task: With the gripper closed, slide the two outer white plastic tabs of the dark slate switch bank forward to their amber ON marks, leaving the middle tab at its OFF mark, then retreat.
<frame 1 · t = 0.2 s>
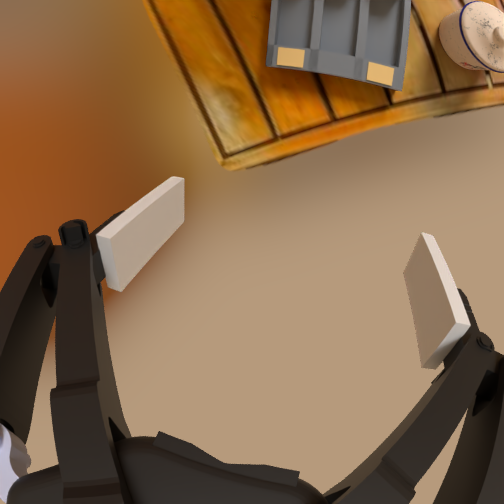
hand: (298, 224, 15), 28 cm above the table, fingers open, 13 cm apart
switch bank: (341, 4, 26), on the table
teacup with lid: (471, 39, 23), on the table
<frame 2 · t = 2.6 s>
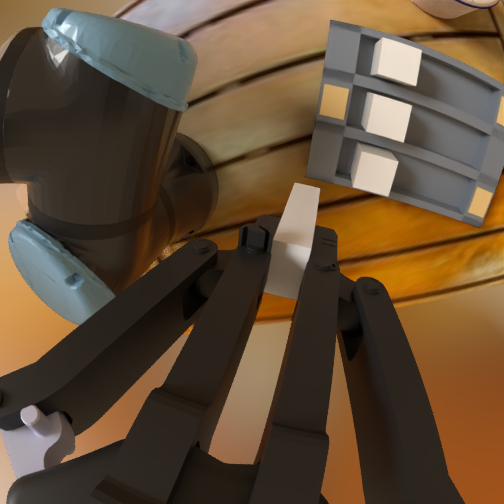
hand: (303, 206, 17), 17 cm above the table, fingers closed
switch bank: (415, 122, 26), on the table
tab b: (384, 115, 24), point 4 cm above the table, slide at 0.0 cm
tab a: (372, 166, 27), point 4 cm above the table, slide at 0.0 cm
tab c: (394, 62, 21), point 4 cm above the table, slide at 0.0 cm
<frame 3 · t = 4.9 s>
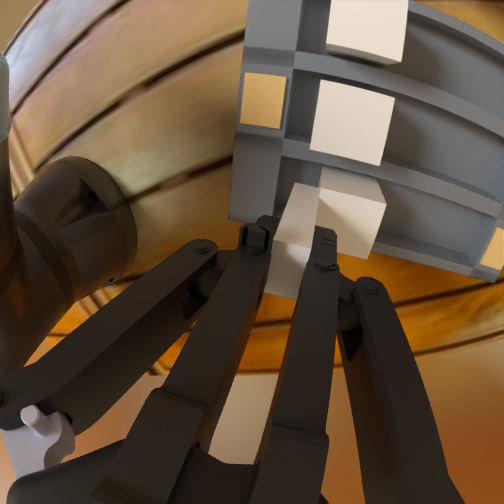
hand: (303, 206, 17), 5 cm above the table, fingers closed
switch bank: (405, 126, 17), on the table
tab b: (348, 116, 15), point 4 cm above the table, slide at 0.0 cm
tab a: (344, 206, 18), point 4 cm above the table, slide at 1.0 cm, touching gripper
tab c: (362, 27, 11), point 4 cm above the table, slide at 0.0 cm
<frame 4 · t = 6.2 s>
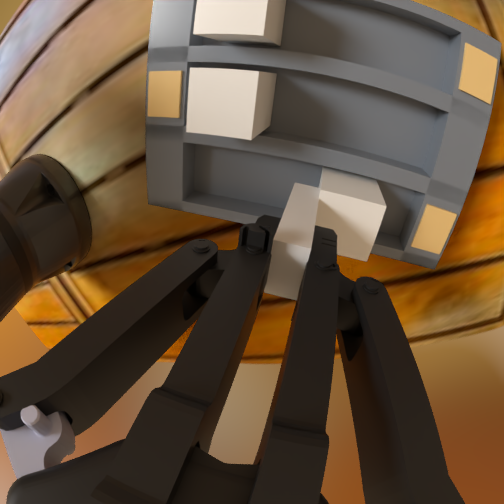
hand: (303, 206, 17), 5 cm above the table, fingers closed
switch bank: (316, 104, 18), on the table
tab b: (235, 98, 15), point 4 cm above the table, slide at 0.0 cm
tab a: (344, 208, 17), point 4 cm above the table, slide at 7.5 cm, touching gripper
tab c: (244, 12, 12), point 4 cm above the table, slide at 0.0 cm
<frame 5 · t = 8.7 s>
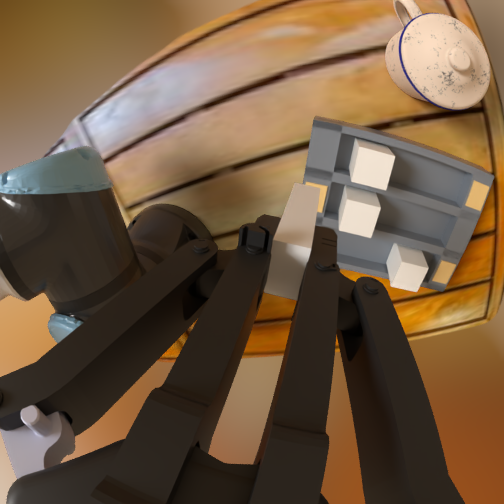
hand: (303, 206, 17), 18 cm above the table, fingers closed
switch bank: (389, 204, 33), on the table
tab b: (358, 209, 31), point 4 cm above the table, slide at 0.0 cm
teacup with lid: (414, 52, 23), on the table
tab a: (406, 265, 33), point 4 cm above the table, slide at 8.0 cm
tab c: (370, 162, 28), point 4 cm above the table, slide at 0.0 cm
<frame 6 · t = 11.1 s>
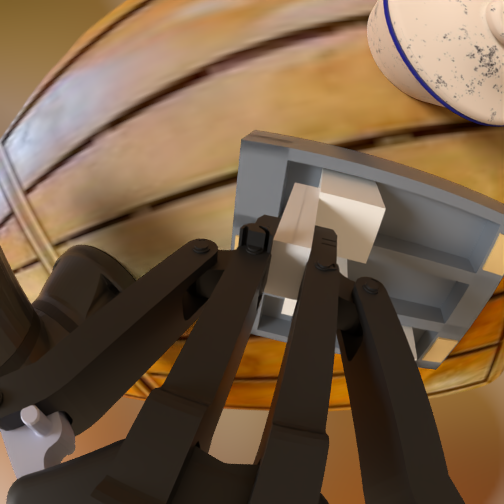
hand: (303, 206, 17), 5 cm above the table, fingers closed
switch bank: (370, 259, 24), on the table
tab b: (315, 277, 21), point 4 cm above the table, slide at 0.0 cm
teacup with lid: (415, 27, 13), on the table
tab a: (387, 345, 23), point 4 cm above the table, slide at 8.0 cm
tab c: (344, 210, 18), point 4 cm above the table, slide at 0.6 cm, touching gripper
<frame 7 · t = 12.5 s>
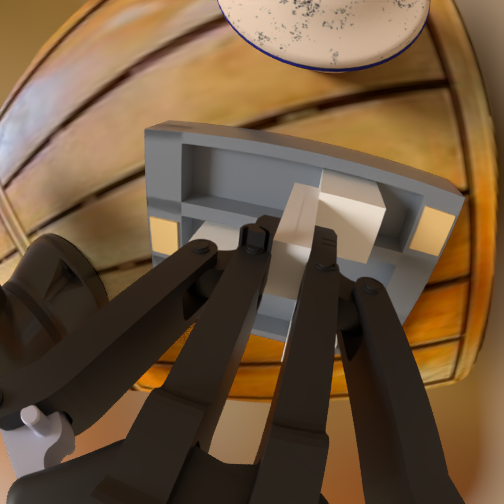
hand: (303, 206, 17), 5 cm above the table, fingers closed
switch bank: (289, 240, 24), on the table
tab b: (221, 254, 22), point 4 cm above the table, slide at 0.0 cm
teacup with lid: (315, 1, 14), on the table
tab a: (311, 330, 24), point 4 cm above the table, slide at 8.0 cm
tab c: (344, 210, 18), point 4 cm above the table, slide at 7.6 cm, touching gripper
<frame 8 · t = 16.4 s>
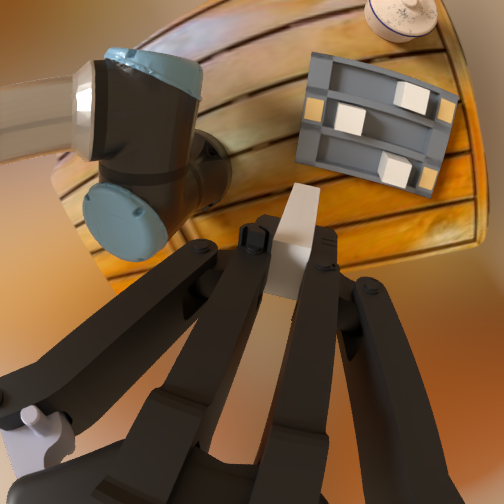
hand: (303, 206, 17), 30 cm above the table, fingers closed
switch bank: (375, 122, 39), on the table
tab b: (349, 117, 36), point 4 cm above the table, slide at 0.0 cm
teacup with lid: (387, 10, 28), on the table
tab a: (393, 168, 38), point 4 cm above the table, slide at 8.0 cm
tab c: (410, 97, 32), point 4 cm above the table, slide at 8.0 cm
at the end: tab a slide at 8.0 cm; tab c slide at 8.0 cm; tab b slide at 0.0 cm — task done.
